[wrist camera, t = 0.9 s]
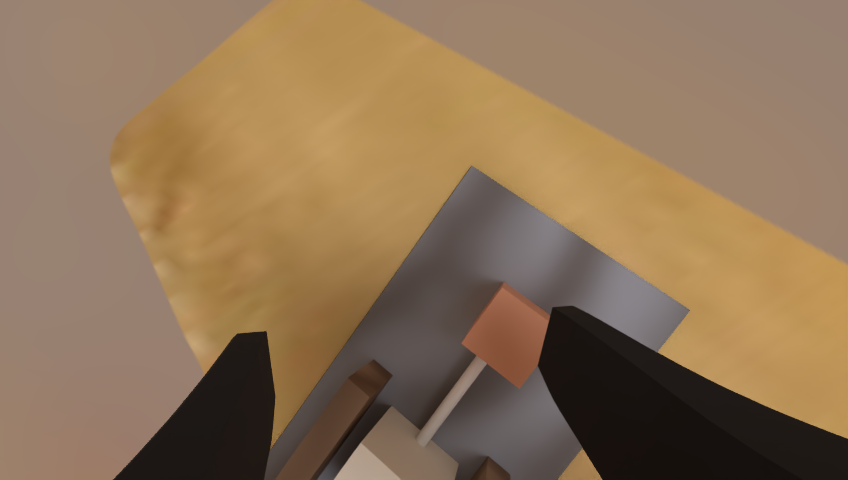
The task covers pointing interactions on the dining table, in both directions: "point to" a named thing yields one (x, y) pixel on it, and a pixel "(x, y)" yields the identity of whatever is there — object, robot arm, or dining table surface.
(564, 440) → the panel
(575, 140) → the dining table surface
